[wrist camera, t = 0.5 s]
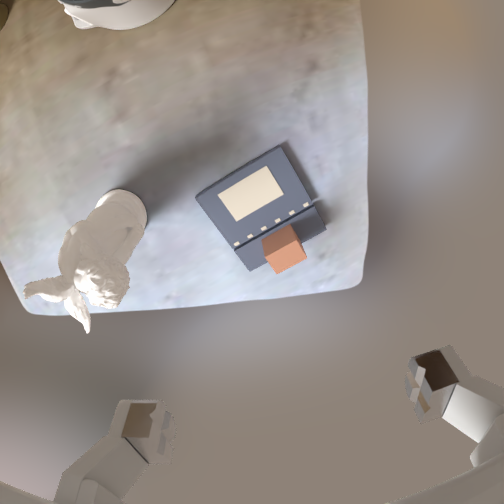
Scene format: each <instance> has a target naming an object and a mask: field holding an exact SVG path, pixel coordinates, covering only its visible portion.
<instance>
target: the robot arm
mask: <svg viewBox="0 0 504 504" xmlns="http://www.w3.org/2000/svg"><path fill="white" fill-rule="evenodd" d="M58 1H59V2H60V3H61V4H64V6H65V10H64V11H65V12H66V13H67V14H69V15H71V16H72V19H73V21H74V24H75V26H76V27H77V28H79V29H89V28H93V27H104V28H109V29H115V30H125V29H131V28H136V27H139V26H142V25H144V24H147V23H149V22H151V21H152V20H154V19H156V18H157V17H159V16H160V15H161V14H163V13H164V12H165V11H166V10H167V9H168V8H169V7H170V6H171V5H172V4H173V2H174V1H175V0H58ZM408 367H409V369H410V371H409V372H408V373H407V374H406V378H405V388H406V392H407V395H408V397H409V399H410V400H411V401H413V402H415V403H416V405H415V408H414V411H415V413H416V415H417V417H418V419H419V422H420V424H423V423H426V422H429V421H431V420H434V419H437V418H440V417H442V418H443V419H445V420H446V421H448V422H449V423H451V424H452V425H453V426H455V427H456V428H457V429H459V430H460V431H462V432H463V433H465V434H466V435H467V436H469V437H470V438H472V439H473V440H475V441H476V442H478V443H479V444H478V445H477V446H476V448H475V449H474V451H473V452H472V453H471V456H470V459H471V461H472V463H473V466H474V468H472V469H470V470H468V471H466V472H464V473H462V474H460V475H458V476H456V477H454V478H452V479H449V480H447V481H445V482H443V483H440V484H438V485H436V486H433V487H431V488H428V489H426V490H423V491H420V492H418V493H415V494H412V495H410V496H407V497H404V498H401V499H398V500H395V501H392V502H389V503H386V504H504V388H502V387H500V386H498V385H496V384H494V383H492V382H490V381H487V380H485V379H483V378H481V377H479V376H477V375H475V376H472V375H471V373H470V371H469V370H468V368H467V367H466V366H465V364H464V363H463V361H462V360H461V358H460V357H459V355H458V354H457V353H456V351H455V350H454V348H453V347H452V346H451V345H448V346H445V347H442V348H439V349H435V350H432V351H430V352H426V353H423V354H420V355H418V356H415V357H411V359H410V360H409V363H408ZM175 436H176V423H175V420H174V417H173V416H172V414H171V413H169V412H167V411H166V405H165V403H164V402H163V400H121V401H120V402H119V403H118V405H117V408H116V411H115V414H114V417H113V420H112V423H111V426H110V429H109V433H108V436H104V437H102V438H101V439H100V440H99V441H98V442H97V443H96V444H95V445H94V446H92V447H91V448H90V449H89V450H88V451H87V452H86V453H85V454H84V455H82V456H81V457H80V458H79V459H78V460H77V461H76V462H74V463H73V464H72V465H71V466H70V467H69V468H68V469H66V470H65V471H64V472H63V473H62V476H61V479H60V482H59V486H58V489H57V492H56V495H55V498H54V501H50V500H47V499H44V498H41V497H38V496H35V495H33V494H30V493H28V492H25V491H23V490H20V489H18V488H15V487H13V486H10V485H8V484H6V483H4V482H2V481H0V504H126V503H125V502H123V501H122V500H121V499H122V498H123V497H124V496H125V495H126V493H127V492H128V491H129V490H130V489H131V487H132V486H133V485H134V484H135V482H136V481H137V480H138V479H139V477H140V476H141V475H142V474H143V472H144V471H145V470H146V469H147V467H148V466H149V464H171V462H172V456H173V450H174V449H173V447H172V445H171V444H170V443H171V442H172V441H173V440H174V439H175Z"/></svg>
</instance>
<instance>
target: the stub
mask: <svg viewBox="0 0 504 504" xmlns="http://www.w3.org/2000/svg"><path fill="white" fill-rule="evenodd" d="M325 230H327V229H326V227H325V225H324V223H323V221H322V219H321V218H320V216H319V214H318V212H317V210H316V208H315V206H314V205H313V204H312V205H310V206H309V207H307V208H305V209H303V210H301V211H300V212H298V213H296V214H294V215H292V216H291V217H289V218H287V219H285V220H284V221H282V222H280V223H278V224H276V225H275V226H273V227H271V228H269V229H268V230H266V231H264V232H262V233H260V234H259V235H257V236H255V237H253V238H252V239H250V240H248V241H246V242H244V243H243V244H241V245H239V246H237V247H236V248H234V251H235V253H236V254H237V255H238V257H239V258H240V259H241V261H242V262H243V263H244V265H245V266H246V267H247V269H248V270H249V271H252V270H254V269H256V268H257V267H259V266H261V265H263V264H265V263H267V262H269V264H270V265H271V267H272V268H273V270H274V271H275V272H276V274H278V273H280V272H282V271H284V270H286V269H288V268H290V267H291V266H293V265H295V264H297V263H299V262H301V261H303V260H304V259H306V258H307V256H306V254H305V251H304V249H303V246H302V243H303V242H305V241H307V240H309V239H311V238H312V237H314V236H316V235H318V234H320V233H322V232H323V231H325Z"/></svg>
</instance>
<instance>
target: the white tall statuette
mask: <svg viewBox="0 0 504 504" xmlns="http://www.w3.org/2000/svg"><path fill="white" fill-rule="evenodd" d="M146 222H147V213H146V209H145V207H144V204H143V203H142V201H141V199H140V198H138V197H137V196H136V195H135V194H133V193H131V192H128V191H125V190H121V189H117V190H112V191H109V192H108V193H106V194H105V195H103V196H102V197H101V198H100V200H99V201H98V203H97V205H96V209H94V210H93V211H92V212H91V213H90V214H89V216H88V217H87V219H86V220H81V221H79V222H77V223H76V224H75V225H73V226H72V227H71V228H70V229H69V230H68V231H67V232H66V234H65V236H64V240H63V243H62V247H61V249H60V251H59V255H58V265H59V269H60V272H61V274H62V275H60V276H57V277H55V278H53V277H52V278H46V279H41V280H38V281H34V282H30V283H28V284H26V285H25V286H24V287H25V289H24V291H23V293H24V294H25V299H27V298H28V297H31V296H33V295H37V294H39V295H41V296H42V298H44V299H45V300H47V301H53V302H55V303H56V302H60V301H63V300H64V304H65V308H67V310H68V312H69V313H70V314H71V315H72V316H73V317H74V318H76V319H77V320H79V321H80V322H81V323H82V324H83V325H84V328H85V330H86V332H87V333H89V331H90V325H91V323H90V320H91V318H90V314H89V311H88V308H87V306H86V303H85V301H84V300H83V297H82V296H81V294H80V292H82V293H85V294H86V296H87V297H89V301H90V303H91V304H92V305H96V306H102V307H106V308H107V309H108V308H109V309H111V308H116V307H118V305H119V304H120V302H121V300H122V298H123V297H124V295H125V294H126V292H127V290H128V289H129V288H130V287H129V281H130V278H129V272H128V271H127V268H126V266H125V264H126V263H127V261H128V260H129V258H130V257H131V255H132V252H133V250H134V249H135V247H136V245H137V244H138V243H139V241H140V240H141V238H142V237H143V235H144V228H145V226H146Z"/></svg>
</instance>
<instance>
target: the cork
mask: <svg viewBox="0 0 504 504" xmlns="http://www.w3.org/2000/svg"><path fill="white" fill-rule="evenodd" d="M7 17H8V8H7V6H6V5H5V4H1V3H0V30H1V29H2V28H3V26H4V25H5V23H6V20H7Z"/></svg>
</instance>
